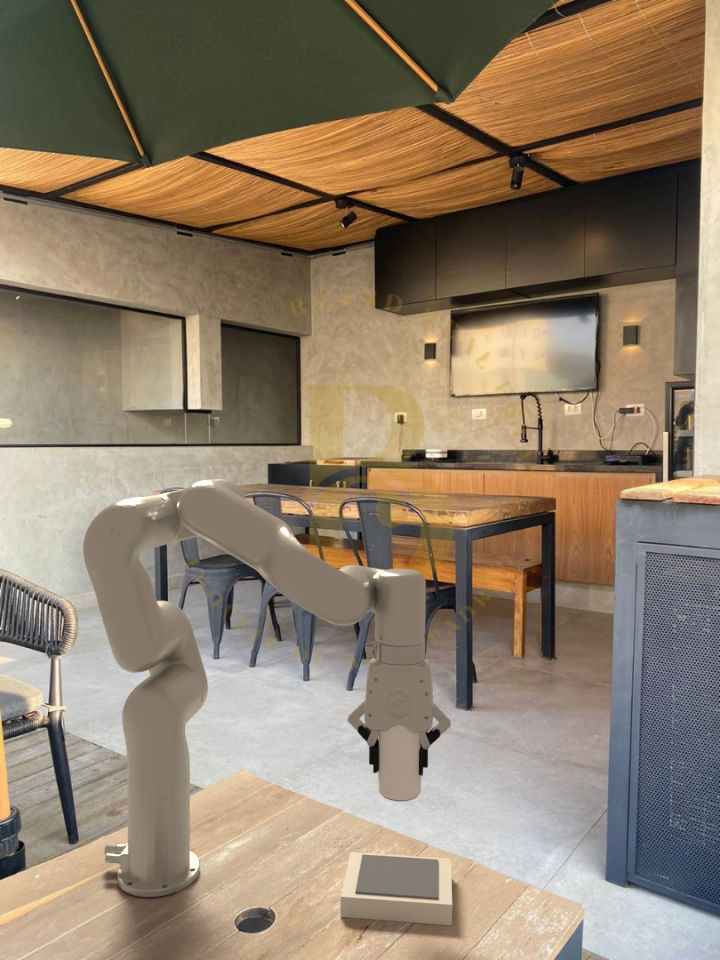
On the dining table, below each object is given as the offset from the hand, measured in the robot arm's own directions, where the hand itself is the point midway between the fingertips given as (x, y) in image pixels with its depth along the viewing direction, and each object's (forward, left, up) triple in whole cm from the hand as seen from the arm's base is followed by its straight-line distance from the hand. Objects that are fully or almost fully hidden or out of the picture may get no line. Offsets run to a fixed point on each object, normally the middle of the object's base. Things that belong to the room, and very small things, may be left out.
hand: (398, 769), depth 110 cm
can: (0, 0, -4) cm, 4 cm away
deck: (0, 0, -19) cm, 19 cm away
